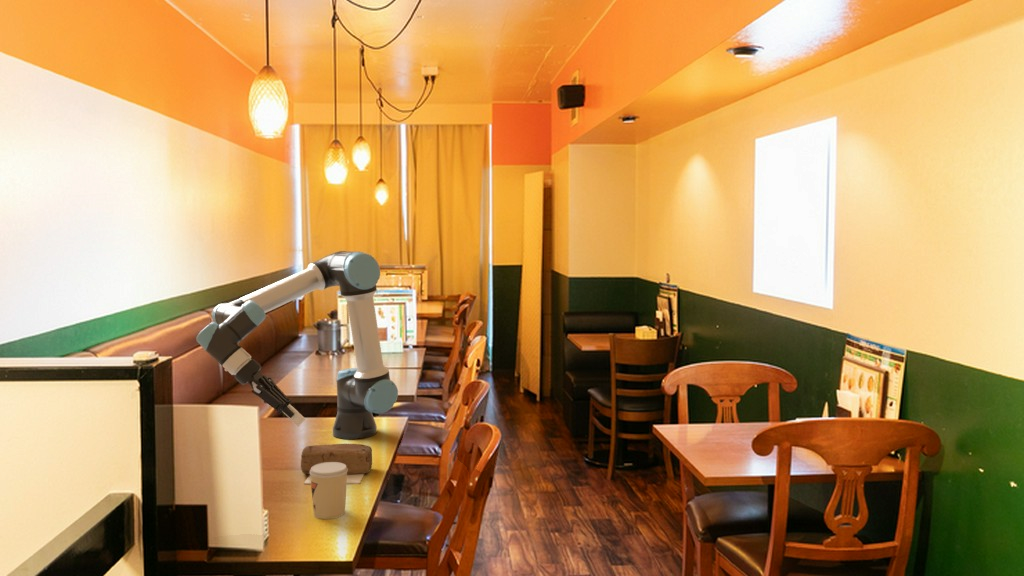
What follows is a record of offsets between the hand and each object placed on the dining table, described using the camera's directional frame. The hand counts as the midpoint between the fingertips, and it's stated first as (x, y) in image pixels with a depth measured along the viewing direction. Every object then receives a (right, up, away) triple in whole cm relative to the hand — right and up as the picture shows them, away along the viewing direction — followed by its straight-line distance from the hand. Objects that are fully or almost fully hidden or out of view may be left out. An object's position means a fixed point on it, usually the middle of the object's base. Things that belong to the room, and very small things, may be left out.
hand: (301, 422), depth 223 cm
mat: (+10, -15, +2) cm, 18 cm away
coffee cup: (+15, -18, -30) cm, 38 cm away
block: (0, -11, +1) cm, 11 cm away
